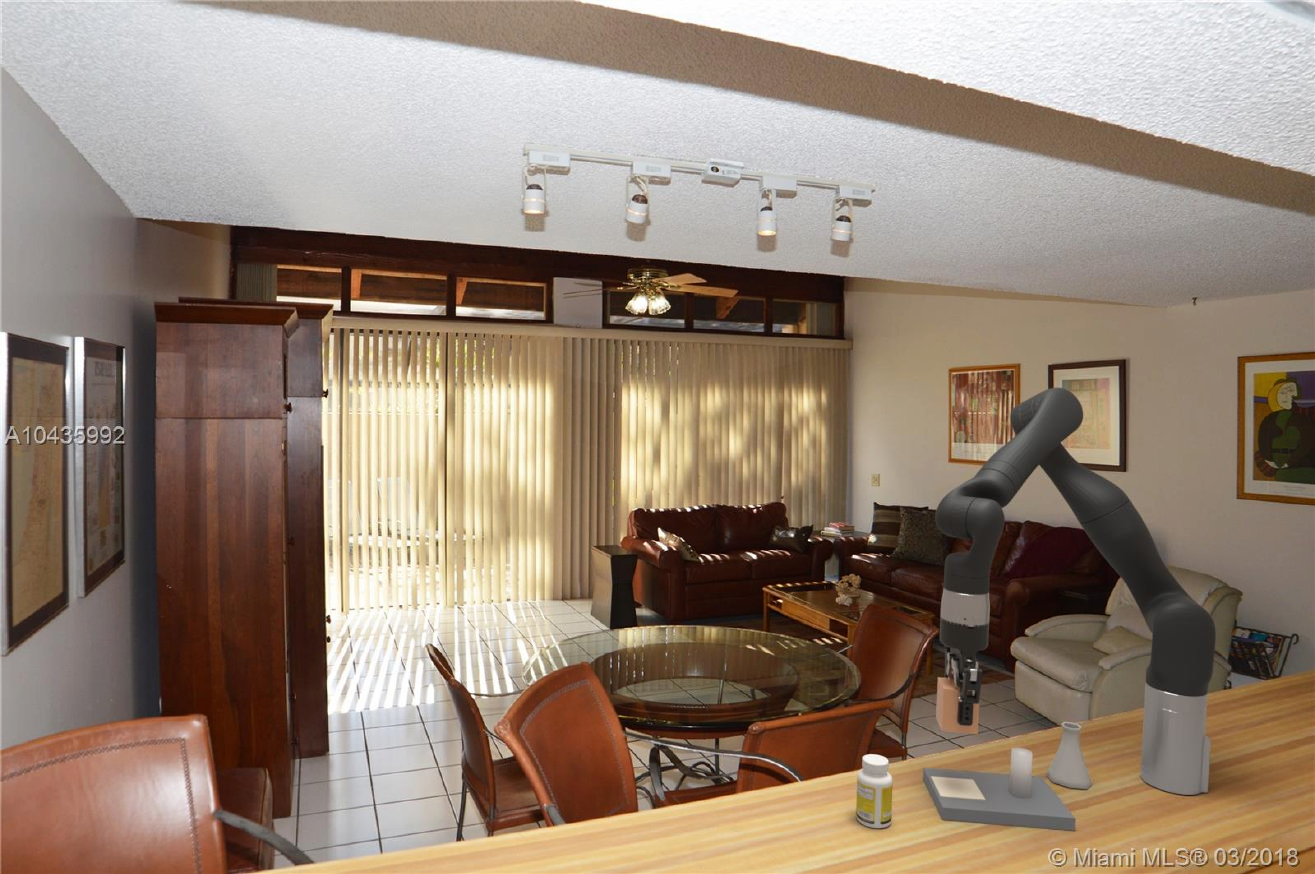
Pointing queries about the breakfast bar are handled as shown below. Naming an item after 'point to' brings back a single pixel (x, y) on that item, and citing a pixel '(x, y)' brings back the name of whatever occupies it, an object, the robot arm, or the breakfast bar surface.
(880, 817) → the supplement bottle
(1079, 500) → the robot arm
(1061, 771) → the flask
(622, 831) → the breakfast bar surface
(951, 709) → the slotted tan cube
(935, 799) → the post board
